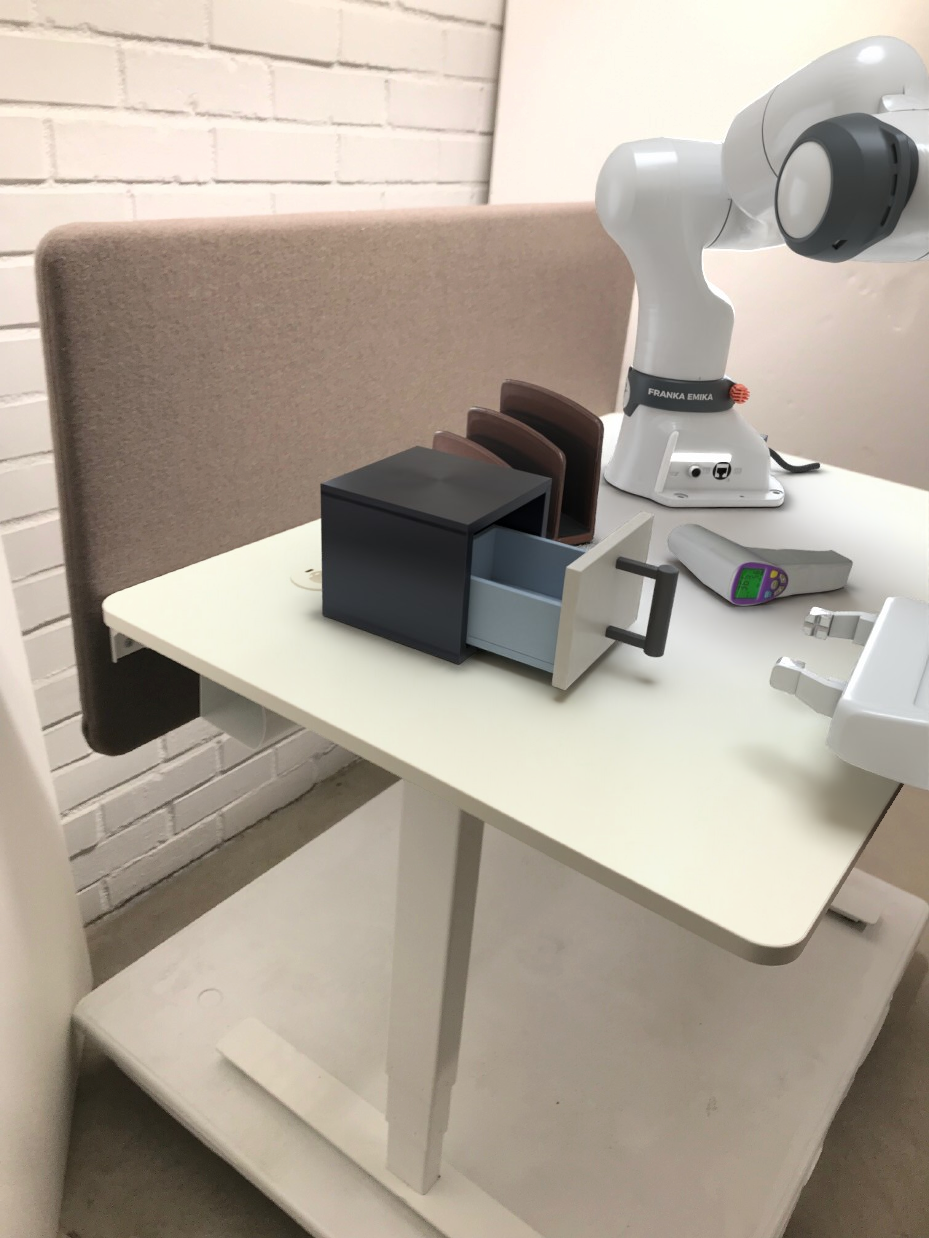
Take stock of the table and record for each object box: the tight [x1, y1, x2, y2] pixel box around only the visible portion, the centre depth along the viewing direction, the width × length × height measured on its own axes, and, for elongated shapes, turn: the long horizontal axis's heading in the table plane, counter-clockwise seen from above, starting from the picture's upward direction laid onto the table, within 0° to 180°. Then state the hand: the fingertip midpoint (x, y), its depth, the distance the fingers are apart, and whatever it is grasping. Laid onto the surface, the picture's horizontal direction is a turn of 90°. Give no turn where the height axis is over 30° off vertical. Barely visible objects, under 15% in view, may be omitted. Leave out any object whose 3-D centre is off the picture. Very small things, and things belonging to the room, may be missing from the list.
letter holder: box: [431, 378, 605, 546], centre depth 99 cm, size 10×20×14 cm, turn 29°
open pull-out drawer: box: [466, 510, 680, 691], centre depth 73 cm, size 19×14×10 cm
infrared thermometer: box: [666, 523, 854, 607], centre depth 91 cm, size 5×12×15 cm
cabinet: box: [319, 445, 552, 665], centre depth 78 cm, size 14×14×12 cm
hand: (790, 643), depth 64 cm, fingers open, 8 cm apart
